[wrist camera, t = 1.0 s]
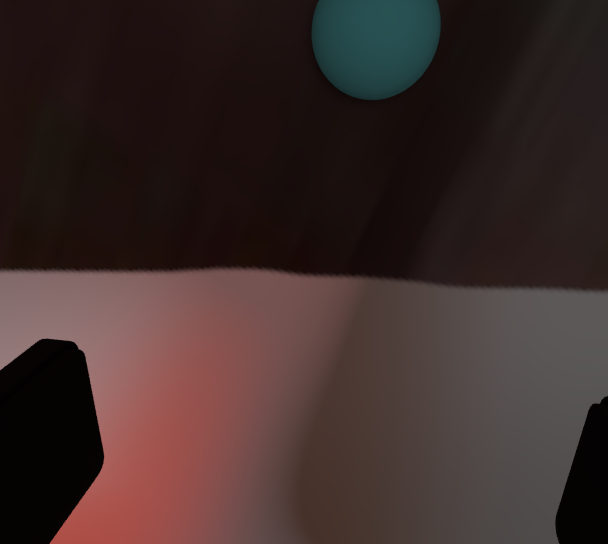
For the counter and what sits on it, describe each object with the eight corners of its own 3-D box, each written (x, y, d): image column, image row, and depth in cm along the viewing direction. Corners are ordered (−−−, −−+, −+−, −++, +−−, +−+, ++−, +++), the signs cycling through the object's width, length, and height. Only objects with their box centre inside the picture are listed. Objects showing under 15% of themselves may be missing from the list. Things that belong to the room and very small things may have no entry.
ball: (310, 86, 27) (295, 93, 21) (327, -39, 24) (315, -68, 19) (416, 104, 26) (429, 114, 21) (445, -22, 24) (468, -46, 18)
